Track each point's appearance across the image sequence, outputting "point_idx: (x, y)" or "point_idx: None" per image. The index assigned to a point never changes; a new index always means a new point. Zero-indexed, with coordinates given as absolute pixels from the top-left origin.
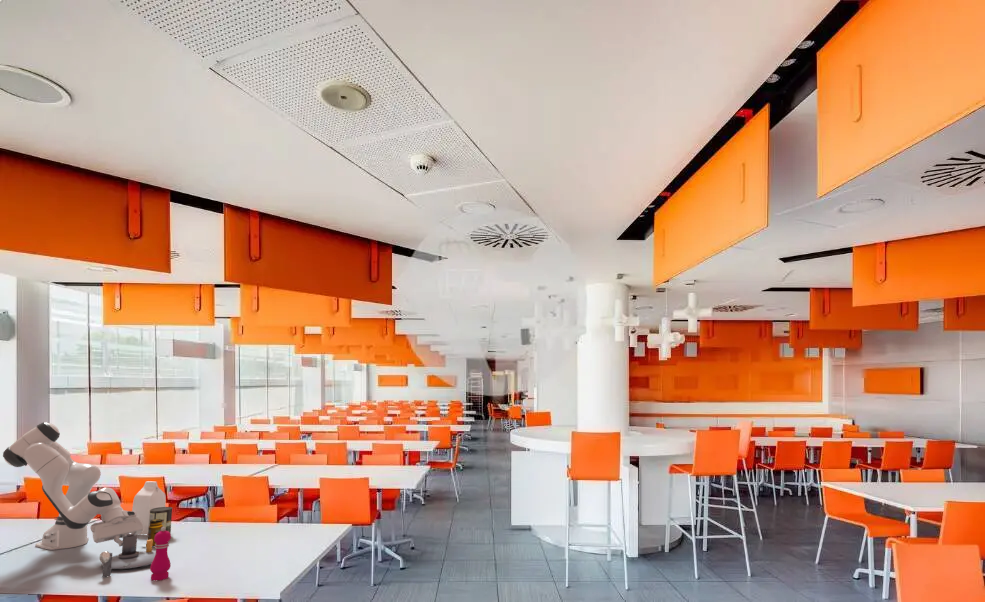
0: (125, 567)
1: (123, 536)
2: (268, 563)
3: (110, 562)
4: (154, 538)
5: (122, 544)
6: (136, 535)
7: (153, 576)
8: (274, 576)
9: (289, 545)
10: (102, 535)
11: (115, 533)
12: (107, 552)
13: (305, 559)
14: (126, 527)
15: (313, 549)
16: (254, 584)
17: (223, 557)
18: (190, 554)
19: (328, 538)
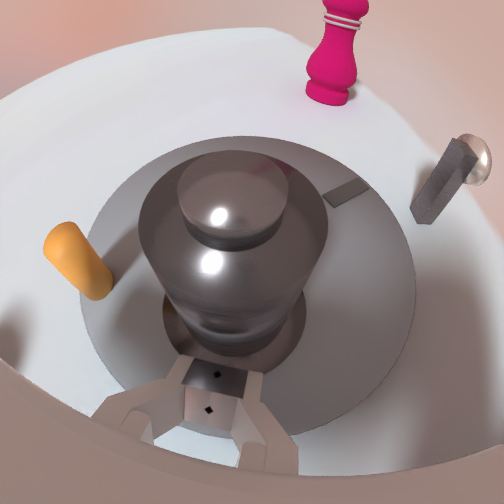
0: (363, 181)
1: (308, 263)
2: (169, 47)
3: (438, 169)
4: (368, 7)
5: (242, 370)
6: (201, 156)
7: (347, 90)
8: (229, 33)
9: (58, 82)
10: (496, 471)
11: (314, 499)
12: (473, 135)
13: (145, 41)
14: (10, 477)
15: (92, 57)
16: (266, 35)
17: (128, 89)
18: (87, 156)
19: (35, 81)
